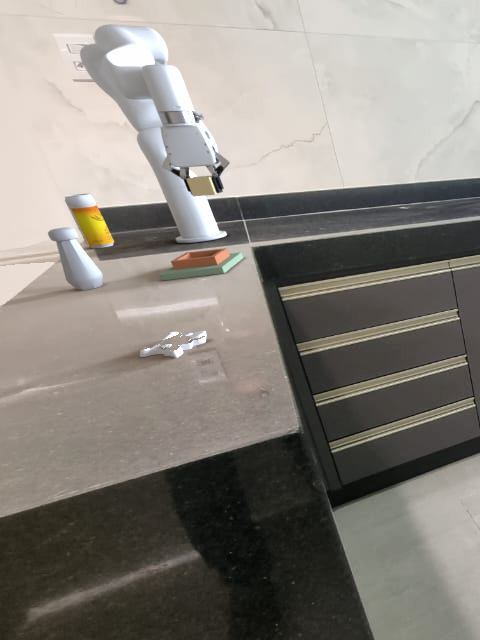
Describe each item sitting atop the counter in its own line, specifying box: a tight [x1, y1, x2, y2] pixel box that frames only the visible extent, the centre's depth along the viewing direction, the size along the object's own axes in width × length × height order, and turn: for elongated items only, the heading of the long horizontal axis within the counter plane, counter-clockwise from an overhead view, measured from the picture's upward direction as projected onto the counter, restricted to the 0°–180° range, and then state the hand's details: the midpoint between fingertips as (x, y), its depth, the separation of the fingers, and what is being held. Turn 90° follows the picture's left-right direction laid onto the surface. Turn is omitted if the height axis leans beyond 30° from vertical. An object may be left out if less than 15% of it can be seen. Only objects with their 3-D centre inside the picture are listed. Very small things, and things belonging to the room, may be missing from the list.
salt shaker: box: [47, 226, 104, 291], centre depth 114 cm, size 6×6×13 cm
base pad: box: [159, 247, 244, 282], centre depth 128 cm, size 16×12×4 cm
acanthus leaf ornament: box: [139, 330, 207, 359], centre depth 82 cm, size 8×7×2 cm
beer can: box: [64, 193, 115, 249], centre depth 156 cm, size 6×6×15 cm
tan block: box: [186, 175, 220, 197], centre depth 142 cm, size 6×5×4 cm
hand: (207, 192), depth 143 cm, fingers closed on tan block, 5 cm apart
